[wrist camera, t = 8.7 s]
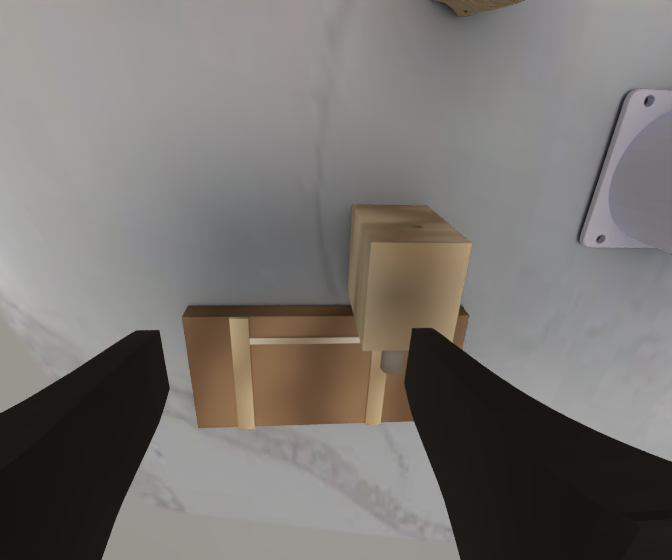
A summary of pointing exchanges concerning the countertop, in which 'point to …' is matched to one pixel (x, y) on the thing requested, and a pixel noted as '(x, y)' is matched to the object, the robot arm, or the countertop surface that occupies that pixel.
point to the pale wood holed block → (403, 277)
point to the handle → (476, 5)
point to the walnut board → (289, 367)
